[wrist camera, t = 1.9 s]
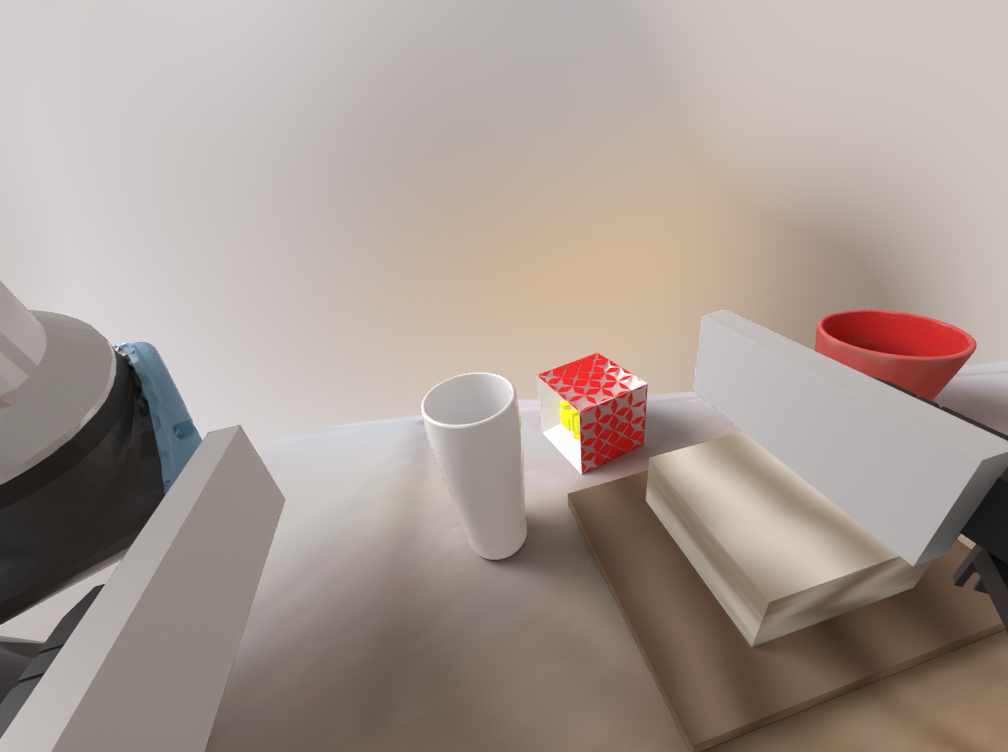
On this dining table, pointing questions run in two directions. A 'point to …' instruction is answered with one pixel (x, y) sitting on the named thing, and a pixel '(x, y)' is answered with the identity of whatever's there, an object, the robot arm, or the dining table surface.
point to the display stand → (763, 588)
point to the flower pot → (896, 347)
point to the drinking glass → (480, 458)
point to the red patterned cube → (592, 410)
